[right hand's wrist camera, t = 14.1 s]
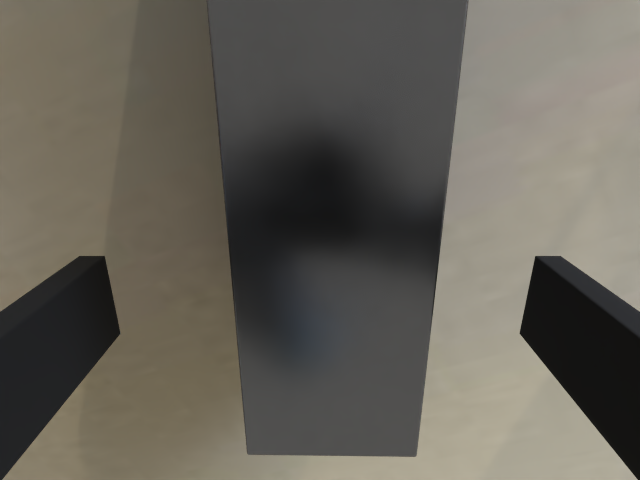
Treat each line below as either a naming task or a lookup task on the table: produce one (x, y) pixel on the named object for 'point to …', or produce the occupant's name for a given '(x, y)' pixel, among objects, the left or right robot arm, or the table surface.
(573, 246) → the table surface
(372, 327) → the bar
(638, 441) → the right robot arm
